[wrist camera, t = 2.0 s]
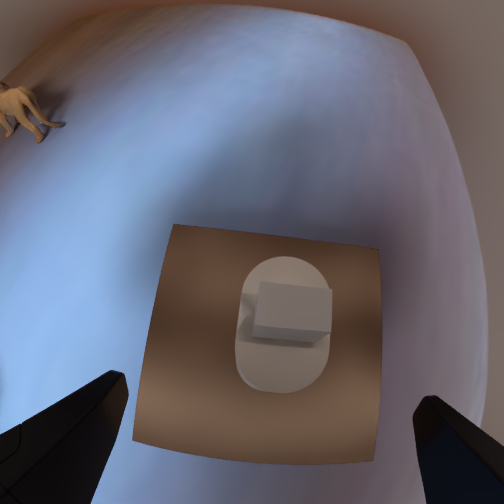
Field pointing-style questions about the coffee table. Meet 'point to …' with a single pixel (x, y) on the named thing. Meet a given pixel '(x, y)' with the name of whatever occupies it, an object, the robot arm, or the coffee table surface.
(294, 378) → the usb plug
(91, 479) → the robot arm
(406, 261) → the coffee table surface
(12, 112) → the lion figurine
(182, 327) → the walnut dock
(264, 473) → the coffee table surface
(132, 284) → the coffee table surface
